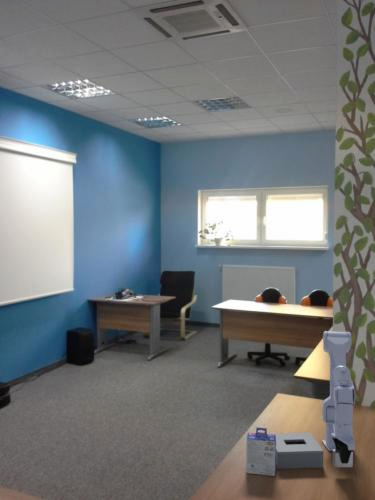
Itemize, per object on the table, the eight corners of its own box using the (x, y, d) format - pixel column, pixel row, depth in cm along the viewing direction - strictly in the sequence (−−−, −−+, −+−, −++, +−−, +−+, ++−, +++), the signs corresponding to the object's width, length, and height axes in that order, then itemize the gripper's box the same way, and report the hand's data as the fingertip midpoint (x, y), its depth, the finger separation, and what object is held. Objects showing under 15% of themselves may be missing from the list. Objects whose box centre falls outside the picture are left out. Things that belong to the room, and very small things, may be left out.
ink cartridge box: (276, 468, 162) (276, 427, 162) (275, 476, 157) (276, 434, 156) (247, 465, 164) (247, 425, 164) (246, 473, 159) (246, 432, 158)
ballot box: (310, 448, 177) (310, 432, 176) (323, 467, 163) (323, 450, 163) (268, 449, 176) (268, 433, 176) (277, 468, 162) (277, 452, 162)
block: (349, 463, 159) (350, 449, 159) (352, 466, 157) (353, 452, 157) (332, 463, 159) (332, 449, 159) (335, 467, 157) (335, 453, 156)
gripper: (324, 412, 164) (323, 450, 165) (340, 431, 150) (339, 472, 151) (344, 412, 164) (343, 449, 165) (361, 430, 150) (360, 471, 151)
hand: (342, 460), depth 158 cm, fingers closed on block, 2 cm apart
